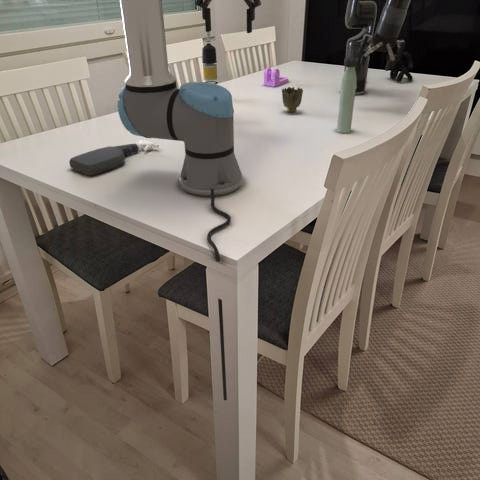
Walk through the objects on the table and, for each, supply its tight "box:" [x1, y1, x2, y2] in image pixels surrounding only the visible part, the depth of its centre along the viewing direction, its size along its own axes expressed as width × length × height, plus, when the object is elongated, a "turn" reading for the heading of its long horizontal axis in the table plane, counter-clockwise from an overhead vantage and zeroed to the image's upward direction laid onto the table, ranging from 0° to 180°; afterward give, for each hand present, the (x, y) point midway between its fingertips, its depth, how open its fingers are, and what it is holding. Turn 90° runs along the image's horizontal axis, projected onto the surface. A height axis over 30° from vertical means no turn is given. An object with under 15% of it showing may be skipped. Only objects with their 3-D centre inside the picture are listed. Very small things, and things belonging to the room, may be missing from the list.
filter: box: [201, 31, 219, 85], centre depth 171 cm, size 6×6×30 cm
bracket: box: [263, 67, 289, 88], centre depth 197 cm, size 13×6×7 cm, turn 143°
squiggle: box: [385, 51, 414, 83], centre depth 198 cm, size 11×10×15 cm
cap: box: [343, 57, 358, 68], centre depth 131 cm, size 4×4×2 cm
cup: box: [281, 86, 304, 114], centre depth 159 cm, size 8×7×8 cm
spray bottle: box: [68, 139, 160, 177], centre depth 124 cm, size 3×11×24 cm
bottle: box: [336, 67, 357, 134], centre depth 137 cm, size 4×4×21 cm
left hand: (228, 32), depth 139 cm, fingers open, 13 cm apart
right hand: (374, 68), depth 156 cm, fingers open, 8 cm apart
